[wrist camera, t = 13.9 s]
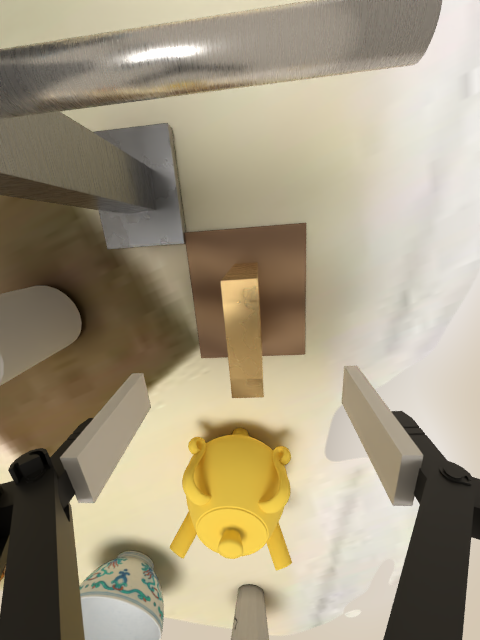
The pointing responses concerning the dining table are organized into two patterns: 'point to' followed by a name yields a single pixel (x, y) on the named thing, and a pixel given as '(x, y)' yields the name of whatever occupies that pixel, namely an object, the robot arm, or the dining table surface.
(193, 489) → the teapot
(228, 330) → the c link
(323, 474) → the dining table surface
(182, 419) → the dining table surface
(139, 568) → the chinaware
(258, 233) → the walnut board
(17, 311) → the can
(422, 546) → the robot arm
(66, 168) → the stand
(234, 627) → the cup
